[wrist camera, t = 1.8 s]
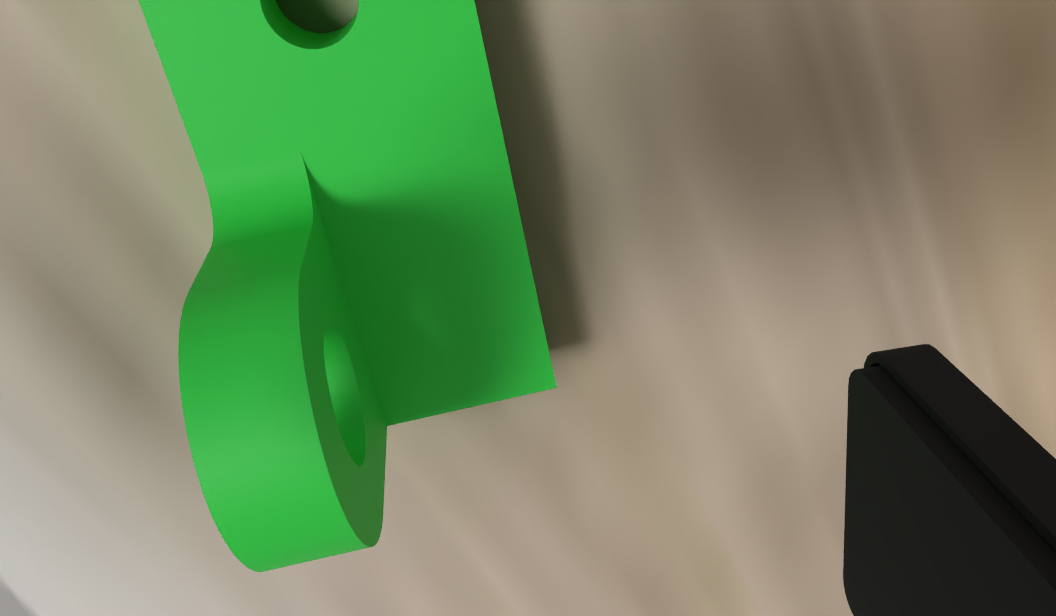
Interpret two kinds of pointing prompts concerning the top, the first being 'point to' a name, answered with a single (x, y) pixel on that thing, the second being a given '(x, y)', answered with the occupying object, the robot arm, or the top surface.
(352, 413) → the mechanical part
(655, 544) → the top surface
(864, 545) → the robot arm
